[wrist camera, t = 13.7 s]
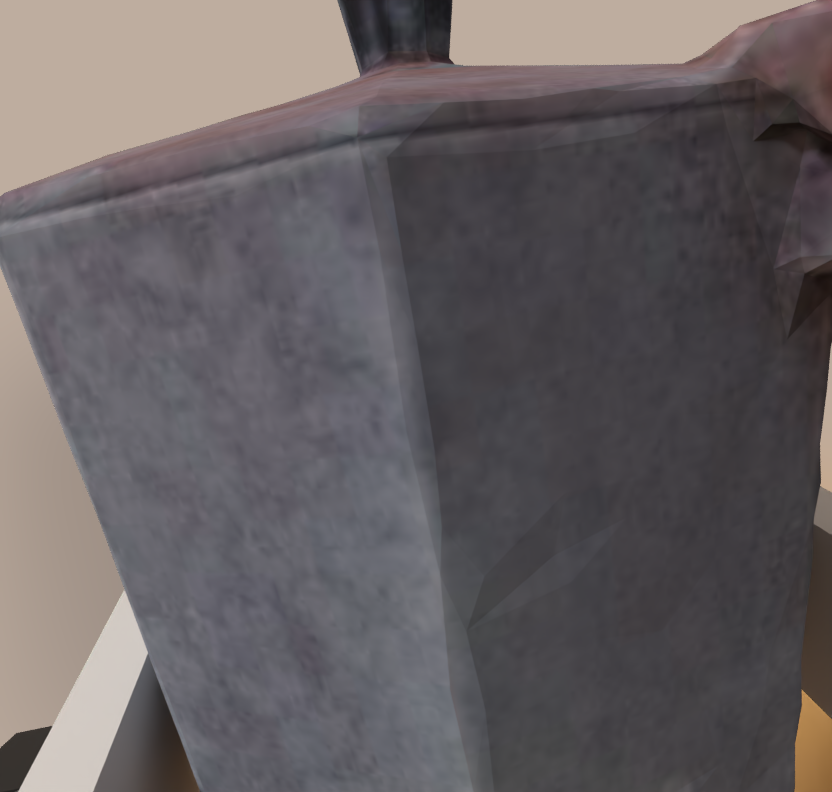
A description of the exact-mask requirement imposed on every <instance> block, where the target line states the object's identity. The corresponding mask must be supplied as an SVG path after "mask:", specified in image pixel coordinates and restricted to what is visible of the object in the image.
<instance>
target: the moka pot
mask: <svg viewBox="0 0 832 792" xmlns="http://www.w3.org/2000/svg"><path fill="white" fill-rule="evenodd" d="M338 3H339V7H340V10H341V13H342V17H343V20H344V23H345V26H346V29H347V33H348V36H349V39H350V43H351V46H352V49H353V52H354V56H355V59H356V63H357V66H358V69H359V72H360V77H359V78H357V79H354V80H352V81H350V82H347V83H344V84H342V85H339V86H337V87H334V88H331V89H328V90H325V91H321V92H318V93H315V94H312V95H309V96H306V97H303V98H300V99H297V100H293V101H290V102H287V103H284V104H281V105H278V106H274V107H271V108H267V109H263V110H260V111H257V112H253V113H249V114H245V115H242V116H238V117H235V118H232V119H229V120H226V121H222V122H219V123H216V124H213V125H210V126H206V127H203V128H200V129H197V130H193V131H190V132H187V133H183V134H180V135H176V136H173V137H169V138H166V139H162V140H159V141H156V142H152V143H149V144H145V145H141V146H138V147H135V148H131V149H127V150H124V151H120V152H117V153H114V154H110V155H107V156H104V157H102V158H99V159H96V160H93V161H91V162H88V163H85V164H83V165H80V166H77V167H74V168H72V169H69V170H66V171H64V172H61V173H58V174H55V175H53V176H50V177H47V178H44V179H42V180H39V181H36V182H33V183H31V184H28V185H25V186H22V187H20V188H17V189H14V190H11V191H9V192H6V193H4V194H3V195H2V196H0V267H1V269H2V272H3V275H4V277H5V280H6V282H7V285H8V287H9V290H10V292H11V295H12V297H13V300H14V302H15V305H16V307H17V310H18V312H19V315H20V318H21V320H22V323H23V326H24V328H25V331H26V333H27V336H28V339H29V341H30V344H31V347H32V349H33V352H34V354H35V357H36V359H37V362H38V365H39V368H40V370H41V373H42V375H43V378H44V381H45V383H46V386H47V389H48V391H49V394H50V397H51V399H52V402H53V404H54V407H55V410H56V412H57V415H58V418H59V420H60V423H61V425H62V428H63V431H64V433H65V436H66V438H67V441H68V444H69V446H70V449H71V451H72V454H73V456H74V459H75V461H76V464H77V466H78V469H79V471H80V474H81V476H82V479H83V481H84V484H85V486H86V488H87V491H88V494H89V496H90V498H91V501H92V504H93V506H94V509H95V511H96V513H97V516H98V518H99V521H100V524H101V526H102V529H103V532H104V534H105V537H106V540H107V543H108V546H109V548H110V551H111V553H112V556H113V559H114V562H115V565H116V568H117V570H118V573H119V576H120V578H121V581H122V584H123V587H124V589H125V592H126V595H127V597H128V600H129V603H130V605H131V608H132V611H133V614H134V616H135V619H136V622H137V624H138V627H139V630H140V633H141V635H142V638H143V641H144V643H145V646H146V649H147V652H148V654H149V657H150V660H151V662H152V665H153V668H154V671H155V673H156V676H157V679H158V681H159V684H160V686H161V689H162V692H163V694H164V697H165V700H166V702H167V705H168V707H169V710H170V713H171V715H172V718H173V721H174V723H175V726H176V728H177V731H178V734H179V736H180V739H181V742H182V744H183V747H184V750H185V752H186V755H187V758H188V760H189V763H190V766H191V769H192V771H193V774H194V777H195V779H196V782H197V785H198V787H199V790H200V792H794V789H795V741H796V735H797V729H798V723H799V718H800V712H801V706H802V694H801V656H802V647H803V639H804V630H805V621H806V613H807V604H808V595H809V586H810V578H811V569H812V560H813V530H814V515H815V510H816V505H817V500H818V494H819V489H820V484H821V471H820V439H821V431H822V423H823V415H824V407H825V399H826V392H827V381H828V370H829V360H830V359H829V358H830V348H831V343H832V0H816V1H813V2H810V3H807V4H804V5H801V6H798V7H795V8H792V9H789V10H786V11H783V12H780V13H777V14H774V15H771V16H768V17H765V18H762V19H759V20H756V21H753V22H750V23H747V24H744V25H741V26H739V27H738V28H737V29H736V30H735V31H733V32H732V33H731V34H729V35H728V36H727V37H725V38H724V39H722V40H721V41H720V42H718V43H717V44H716V45H714V46H713V47H712V48H710V49H709V50H708V51H706V52H705V53H703V54H702V55H701V56H698V57H696V58H694V59H692V60H690V61H688V62H685V63H683V64H643V65H560V66H559V65H555V66H554V65H549V66H548V65H547V66H546V65H545V66H463V65H455V64H454V63H453V62H452V61H451V60H450V59H449V48H450V32H451V15H452V0H338Z"/></svg>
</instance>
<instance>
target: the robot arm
mask: <svg viewBox="0 0 832 792" xmlns="http://www.w3.org/2000/svg"><path fill="white" fill-rule="evenodd" d="M801 689H802V690H803V691H804V692H805V693H806V694H807V695H808V696H809V697H810V698H811V699H812V700H813V701H814V702H815V703H816V704H817V705H818V706H819V707H820V708H821V709H822V710H823V711H824V712H825V713H826V714H827V715H828V716H829V717H830V718H831V719H832V492H830V491H828V490H826V489H824V488H822V487H821V486H820V489H819V494H818V500H817V505H816V510H815V515H814V530H813V560H812V569H811V578H810V586H809V595H808V604H807V613H806V621H805V630H804V639H803V647H802V656H801ZM0 792H200V790H199V787H198V785H197V782H196V779H195V777H194V774H193V771H192V769H191V766H190V763H189V760H188V758H187V755H186V752H185V750H184V747H183V744H182V742H181V739H180V736H179V734H178V731H177V728H176V726H175V723H174V721H173V718H172V715H171V713H170V710H169V707H168V705H167V702H166V700H165V697H164V694H163V692H162V689H161V686H160V684H159V681H158V679H157V676H156V673H155V671H154V668H153V665H152V662H151V660H150V657H149V654H148V652H147V649H146V646H145V643H144V641H143V638H142V635H141V633H140V630H139V627H138V624H137V622H136V619H135V616H134V614H133V611H132V608H131V605H130V603H129V600H128V597H127V595H126V592H125V590H124V592H123V593H122V595H121V597H120V599H119V601H118V603H117V605H116V607H115V609H114V610H113V613H112V614H111V616H110V618H109V620H108V622H107V624H106V626H105V628H104V630H103V631H102V633H101V635H100V637H99V639H98V641H97V643H96V645H95V647H94V649H93V650H92V652H91V654H90V656H89V658H88V660H87V662H86V664H85V666H84V668H83V669H82V671H81V673H80V676H79V677H78V679H77V681H76V683H75V685H74V687H73V689H72V690H71V692H70V694H69V696H68V698H67V700H66V702H65V704H64V706H63V707H62V710H61V711H60V713H59V715H58V717H57V719H56V721H55V723H54V725H53V726H50V727H45V728H40V729H35V730H30V731H25V732H20V733H16V734H15V735H14V736H13V737H12V738H11V739H10V740H9V741H7V742H6V743H5V744H4V745H3V746H2V747H1V748H0Z"/></svg>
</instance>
